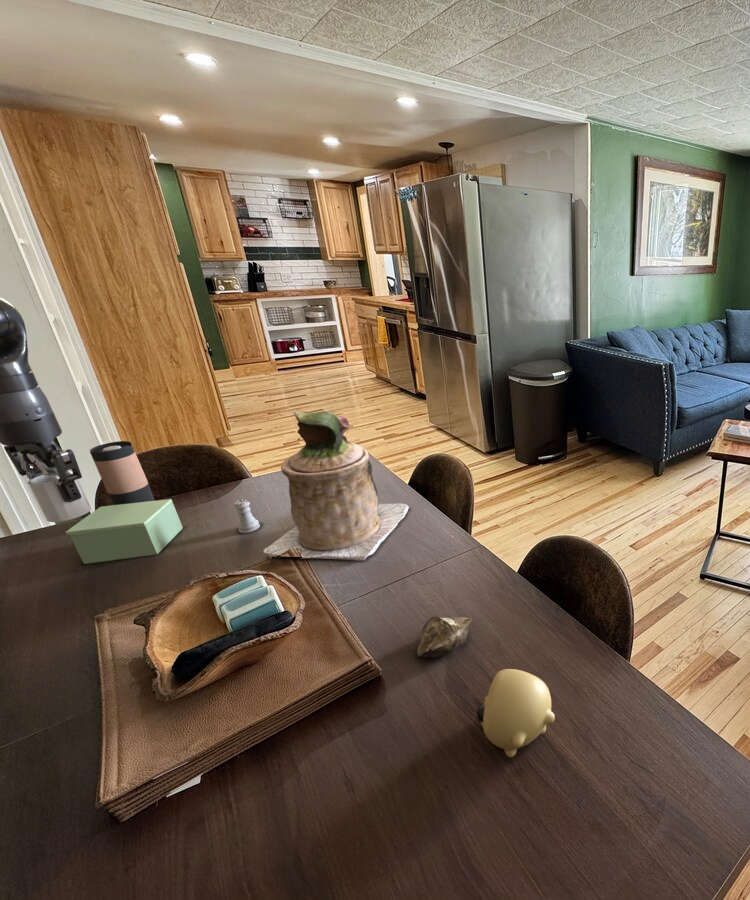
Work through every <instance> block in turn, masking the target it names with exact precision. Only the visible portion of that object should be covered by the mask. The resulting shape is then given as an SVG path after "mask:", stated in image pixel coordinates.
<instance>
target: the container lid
mask: <svg viewBox="0 0 750 900" xmlns="http://www.w3.org/2000/svg"><path fill="white" fill-rule="evenodd" d="M171 502H173V500H172V499H171V498H167V499H159V500H155V501H148V502H139V503H130V504H121V505H114V504H112V505H104V506H102V505H101V506H99V507H98V508H97V509H95V510H94V511H92V512H90V514H88V515H87V516H86V517H84V518H82V519H81V520H80V521H79V522H77V523H76V524H74V525H73V526H72V527H70V528H69V529H68V530H66V531H65V535H66V536H70V535H73V534H81V533H90V532H98V531H106V530H115V529H123V528H131V527H140V526H146V525H147V524H148V523H149V522H150V521H151V520H152V519H153V518H155V517H156V516H157V515H158V514H159V513H160V512H161V511H162V510H164V509H165V508H166V507H167V506H168V505H169V504H170V503H171Z"/></svg>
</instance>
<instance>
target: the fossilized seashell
mask: <svg viewBox="0 0 750 900" xmlns="http://www.w3.org/2000/svg"><path fill="white" fill-rule="evenodd" d="M472 621H473V619H472V618H470V617H463V616H453V617H452V616H449V617H441V616H432V617H430V618H429V619H428V620H426V622H425V624H424V625H423V626H422V627H423V628H422V630H421V635H420V636H421V637H420V640H419V644H418V647H417V648H416V656H417V657H420V658H421V657H424V658H428V659H429V658H430V659H437V658H442V657H445V656H447V655H449V654H451V653H453V652H454V651H455V650H456V649H457V648H458V647H460V646H462V645H463V644H464V642H466V640H467V637H468V632H469V628H470V625H471V623H472Z"/></svg>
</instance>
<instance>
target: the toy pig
mask: <svg viewBox="0 0 750 900" xmlns="http://www.w3.org/2000/svg"><path fill="white" fill-rule="evenodd" d="M476 716H477V719H478V721H479V722H480V725H481V727H482V728H483V733H484V736H485V738H487V739H488V741H489V742H490V743H492V744H493V745H494V746H496V747H498V748H500V749H503V750H504V753H505V755H506V756H507V757H508V758H513V757H515V755H516V754H517V750H518V749H522V748H523V747H525V746H527V745H529V744H530V743H532V742H533V741H534V740H536V739H537V738H538V737H539V735H544V734H545V733H546V731H547V725H550V724H552V723H554V721H555V719H556V716H555V713H554V712H553V711H552V697H551V692H550V689H549V687H548V686H547V684H546V683H545V681H543V680H542V679H540V677H538V676H536V675H534V674H532V673H529V672H527V671H524V670H520V669H516V668H506V669H505V668H504V669H501V670H499V671H498V672H497V673H496V674H495V676H494V678H493V680H492V681H491V684H490V686H489V690H488V692H487V696H485V697H484V702H483V703H482V704H480V706H479V707H478V708H477V711H476Z"/></svg>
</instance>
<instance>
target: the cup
mask: <svg viewBox="0 0 750 900" xmlns="http://www.w3.org/2000/svg"><path fill="white" fill-rule="evenodd" d="M56 474H57V475H58V472H57V473H56ZM58 476H59V475H58ZM26 483H27V485H28V487H29V489H30V490H31V493H32V495H33V496H34V497H33V498H35V500H36V502H37V504H38V507H39V508H40V511H41V512H42V514H43V516H44V518H45V519H46V521H47V522H49V523H59V522H61V523H62V522H66V521H70V520H74V519H78V518H80V517H82V516H84V515H86V514H88V513H89V512H90V511H91V510H92V508H91V503H89V500H88V498H87V495H86V494H85V492H84V489H83V487H82V485H81V483H80V481H79V479H77V480H75V483H76V485H77V487H78V490H79V492H80V494H81V496H82V497H81V498H80V499H78V500H75V501H73V502H65V501H64V499H63V497H62V495H61V493H60V491H59V489H58V487H57V484H56V483H55V481H54V480H53V479H52V478H51V477H50V476H49V475H44V474H43V475H40V476H37V477H34V478H32V479H30V480H29V479H28V480H27V482H26Z"/></svg>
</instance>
